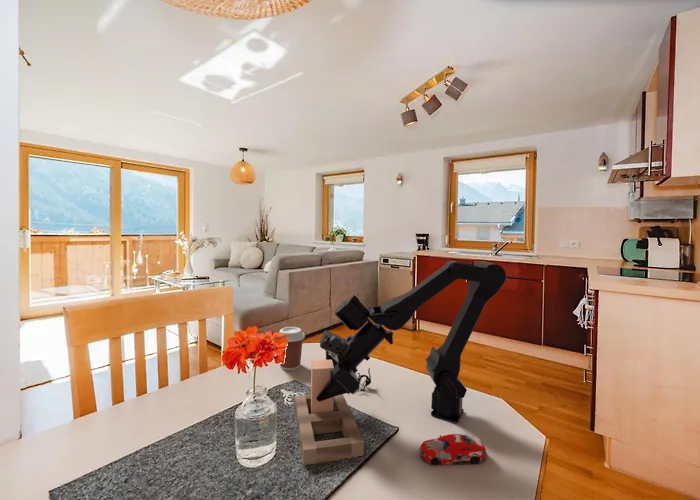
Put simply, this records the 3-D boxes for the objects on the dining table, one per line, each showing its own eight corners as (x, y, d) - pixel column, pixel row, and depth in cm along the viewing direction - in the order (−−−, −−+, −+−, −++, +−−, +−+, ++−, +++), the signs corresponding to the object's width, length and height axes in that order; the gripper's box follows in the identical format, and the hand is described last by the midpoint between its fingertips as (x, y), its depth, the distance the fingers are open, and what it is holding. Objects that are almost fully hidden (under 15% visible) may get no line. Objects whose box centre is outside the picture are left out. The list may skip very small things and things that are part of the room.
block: (331, 410, 83) (331, 359, 83) (333, 422, 78) (334, 368, 78) (310, 411, 83) (311, 360, 82) (311, 423, 78) (312, 369, 77)
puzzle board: (294, 407, 85) (294, 395, 84) (341, 402, 87) (341, 391, 87) (303, 465, 64) (303, 450, 64) (363, 456, 67) (364, 441, 67)
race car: (423, 468, 64) (423, 448, 64) (416, 449, 70) (416, 431, 70) (490, 466, 65) (491, 447, 65) (478, 448, 71) (479, 430, 70)
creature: (346, 398, 92) (374, 392, 92) (342, 379, 92) (370, 374, 91) (346, 385, 100) (372, 379, 100) (342, 367, 99) (369, 362, 99)
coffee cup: (280, 374, 103) (281, 336, 103) (272, 363, 111) (272, 327, 110) (308, 368, 108) (309, 331, 107) (298, 358, 116) (299, 324, 115)
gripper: (335, 310, 89) (292, 353, 88) (345, 332, 70) (291, 386, 69) (364, 339, 91) (322, 380, 90) (381, 367, 72) (328, 420, 71)
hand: (316, 390), depth 80 cm, fingers open, 9 cm apart
